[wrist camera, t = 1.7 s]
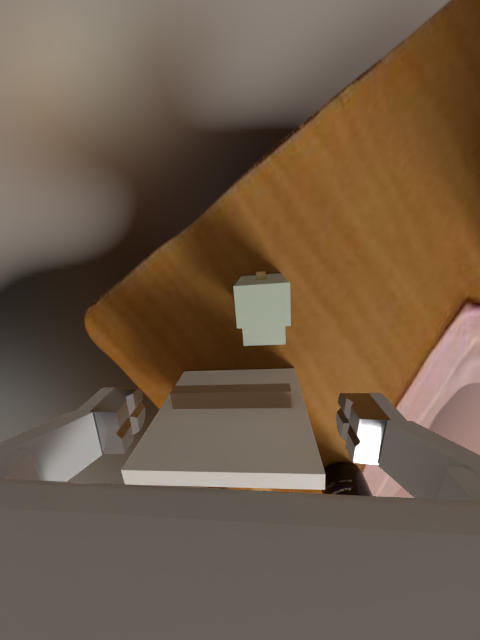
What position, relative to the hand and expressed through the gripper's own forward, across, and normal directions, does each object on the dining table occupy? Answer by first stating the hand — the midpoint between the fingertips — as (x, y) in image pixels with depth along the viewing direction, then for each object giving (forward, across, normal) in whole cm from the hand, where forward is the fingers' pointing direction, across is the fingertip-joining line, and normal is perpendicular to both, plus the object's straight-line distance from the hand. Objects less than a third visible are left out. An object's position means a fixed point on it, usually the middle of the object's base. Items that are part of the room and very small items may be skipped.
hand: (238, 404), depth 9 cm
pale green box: (+21, -2, -1) cm, 21 cm away
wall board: (+21, +2, +11) cm, 24 cm away
